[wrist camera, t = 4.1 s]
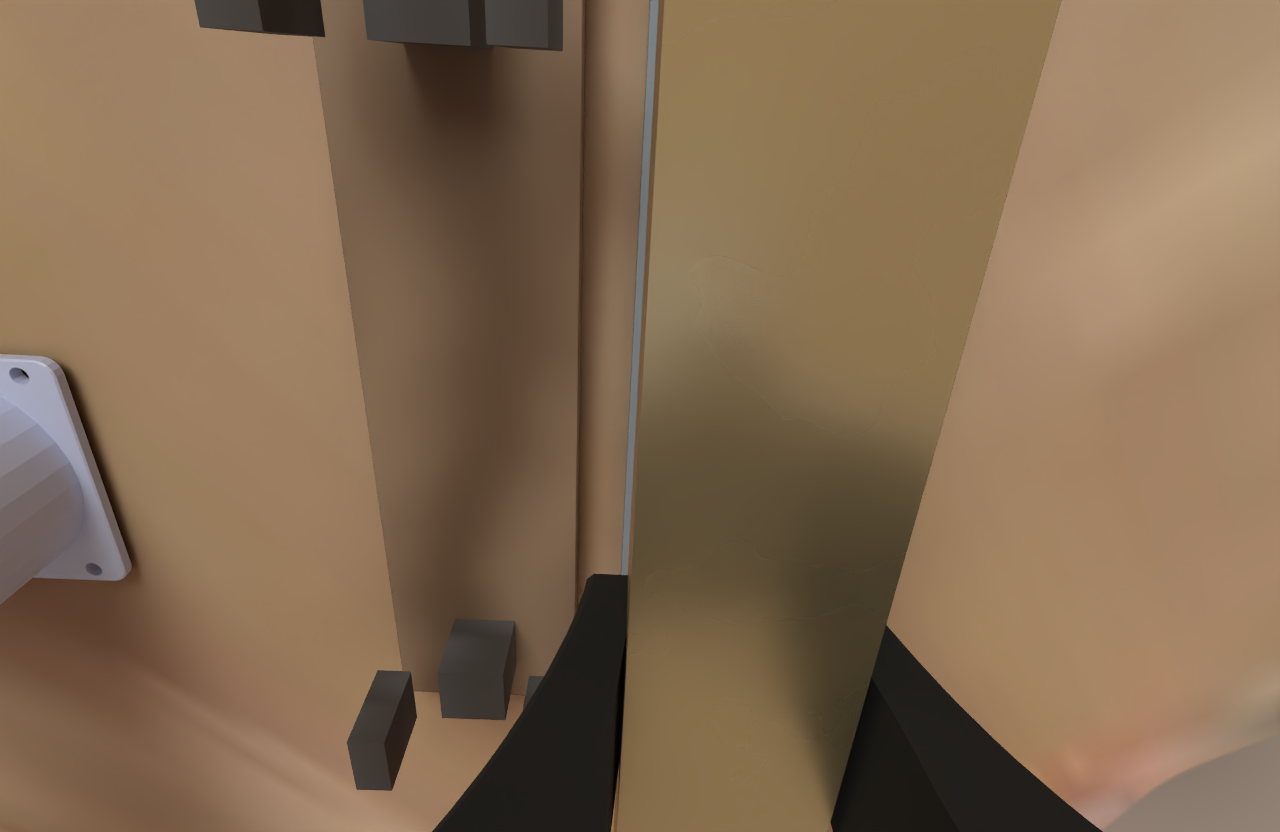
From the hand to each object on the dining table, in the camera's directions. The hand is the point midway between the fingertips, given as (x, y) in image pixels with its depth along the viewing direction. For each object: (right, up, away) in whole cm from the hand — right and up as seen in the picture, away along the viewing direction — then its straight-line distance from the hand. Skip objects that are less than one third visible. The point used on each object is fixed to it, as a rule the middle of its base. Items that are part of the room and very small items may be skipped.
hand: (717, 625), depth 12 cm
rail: (0, 0, 0) cm, 0 cm away
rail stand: (-6, +5, +9) cm, 12 cm away
